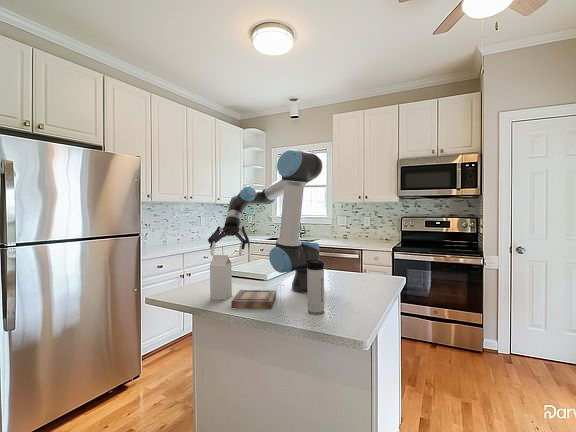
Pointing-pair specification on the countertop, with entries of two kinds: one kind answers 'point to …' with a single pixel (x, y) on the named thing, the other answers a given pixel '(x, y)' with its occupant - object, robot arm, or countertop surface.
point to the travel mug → (315, 287)
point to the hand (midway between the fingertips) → (225, 254)
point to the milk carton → (220, 278)
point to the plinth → (254, 299)
